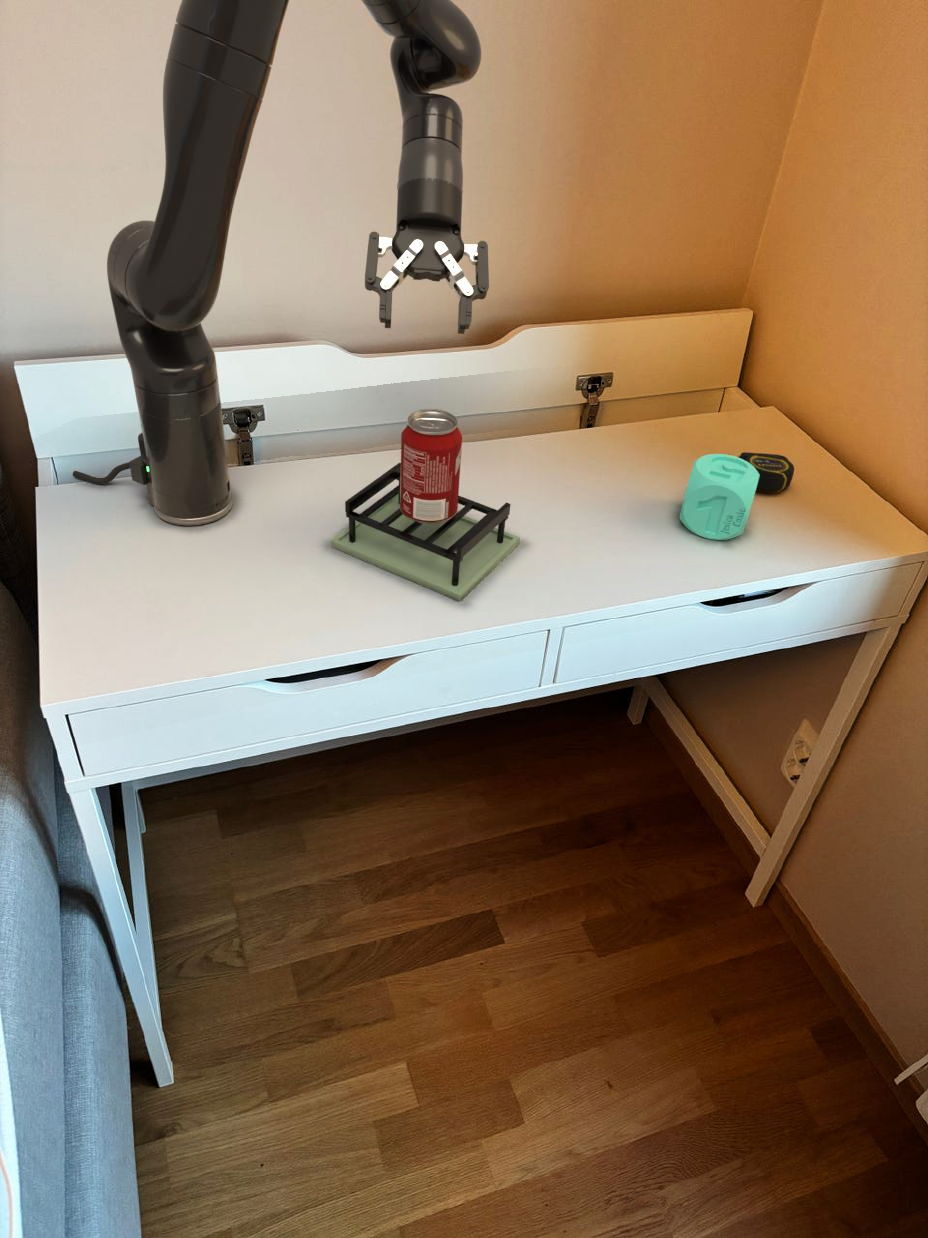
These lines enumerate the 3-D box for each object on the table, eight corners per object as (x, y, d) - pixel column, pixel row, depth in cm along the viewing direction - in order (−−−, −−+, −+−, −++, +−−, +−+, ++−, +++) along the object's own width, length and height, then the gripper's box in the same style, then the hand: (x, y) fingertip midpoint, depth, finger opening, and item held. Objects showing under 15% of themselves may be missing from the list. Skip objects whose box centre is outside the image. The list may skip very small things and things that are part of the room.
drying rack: (345, 540, 112) (344, 501, 109) (398, 499, 120) (399, 462, 116) (458, 588, 106) (461, 548, 103) (506, 542, 114) (510, 503, 111)
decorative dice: (675, 531, 119) (689, 476, 114) (686, 500, 125) (699, 447, 120) (738, 547, 117) (755, 492, 112) (746, 515, 123) (763, 461, 118)
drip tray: (331, 547, 112) (331, 540, 111) (397, 496, 122) (397, 489, 121) (459, 602, 105) (460, 595, 105) (519, 544, 115) (520, 537, 114)
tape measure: (782, 474, 132) (789, 451, 130) (792, 500, 127) (800, 476, 125) (734, 470, 132) (740, 446, 130) (742, 496, 127) (749, 472, 125)
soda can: (450, 532, 108) (456, 439, 100) (393, 523, 109) (394, 429, 101) (462, 502, 113) (468, 411, 105) (407, 493, 114) (410, 402, 106)
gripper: (368, 169, 105) (363, 312, 104) (495, 180, 106) (490, 321, 106) (368, 202, 112) (363, 335, 112) (486, 212, 114) (482, 344, 113)
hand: (425, 328), depth 109 cm, fingers open, 8 cm apart
